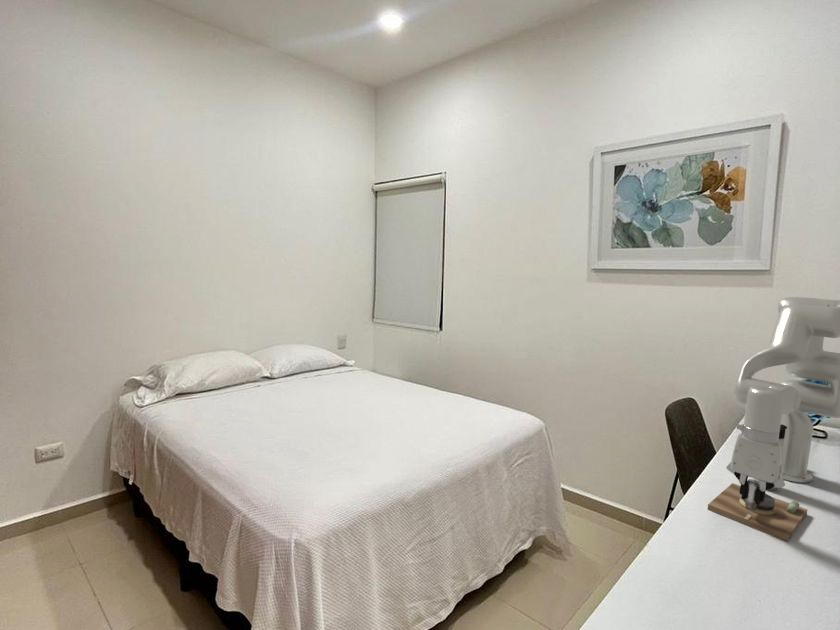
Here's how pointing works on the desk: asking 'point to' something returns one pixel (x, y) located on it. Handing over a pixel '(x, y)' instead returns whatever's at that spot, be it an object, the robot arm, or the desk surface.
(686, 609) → the desk surface
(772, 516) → the base
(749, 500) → the grey rounded piece
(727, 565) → the desk surface
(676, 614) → the desk surface
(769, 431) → the robot arm
